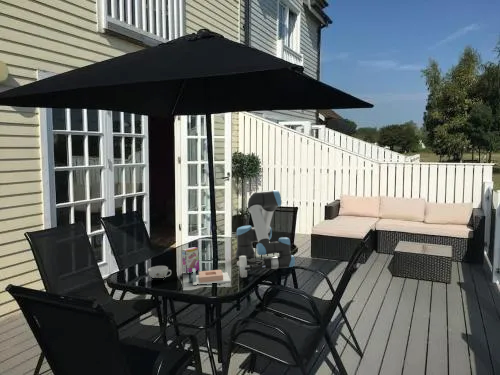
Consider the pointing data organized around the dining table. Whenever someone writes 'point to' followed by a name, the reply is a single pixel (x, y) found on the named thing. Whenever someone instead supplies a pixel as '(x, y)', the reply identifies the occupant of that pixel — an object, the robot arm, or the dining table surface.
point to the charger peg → (243, 263)
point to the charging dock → (225, 276)
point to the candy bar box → (190, 259)
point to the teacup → (159, 272)
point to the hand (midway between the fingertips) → (238, 266)
